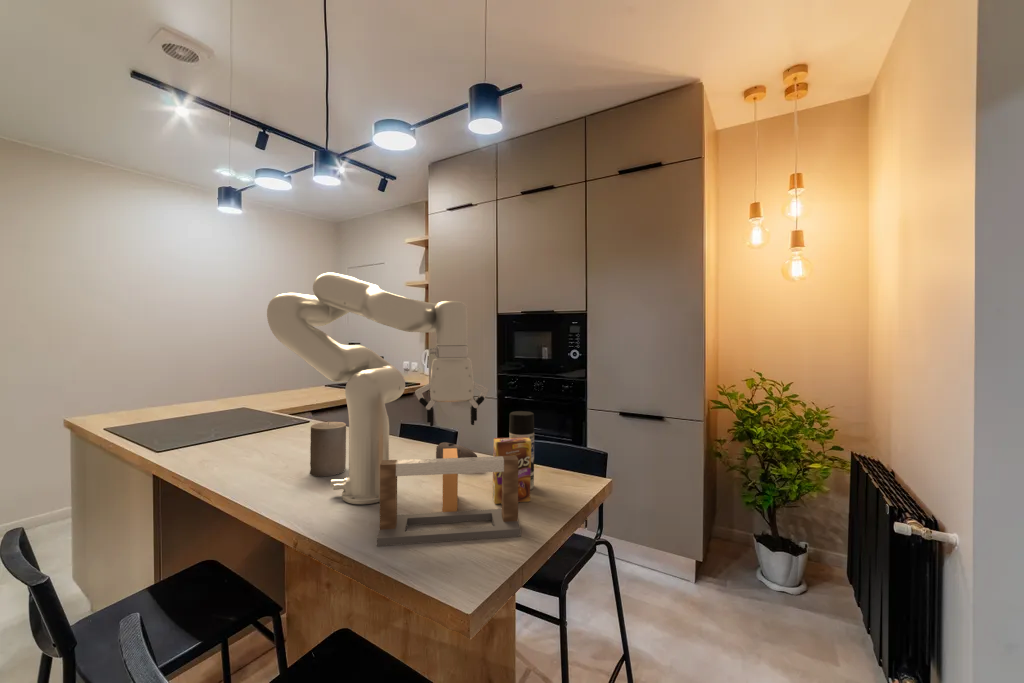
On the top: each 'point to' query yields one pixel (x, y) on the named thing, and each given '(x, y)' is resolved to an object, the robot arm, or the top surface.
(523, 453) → the candy box
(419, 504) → the top surface
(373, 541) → the top surface
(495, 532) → the crossbar rack
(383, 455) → the robot arm
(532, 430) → the spray can
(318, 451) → the pillar candle
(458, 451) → the perforated stone tool
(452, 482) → the orange angular block
